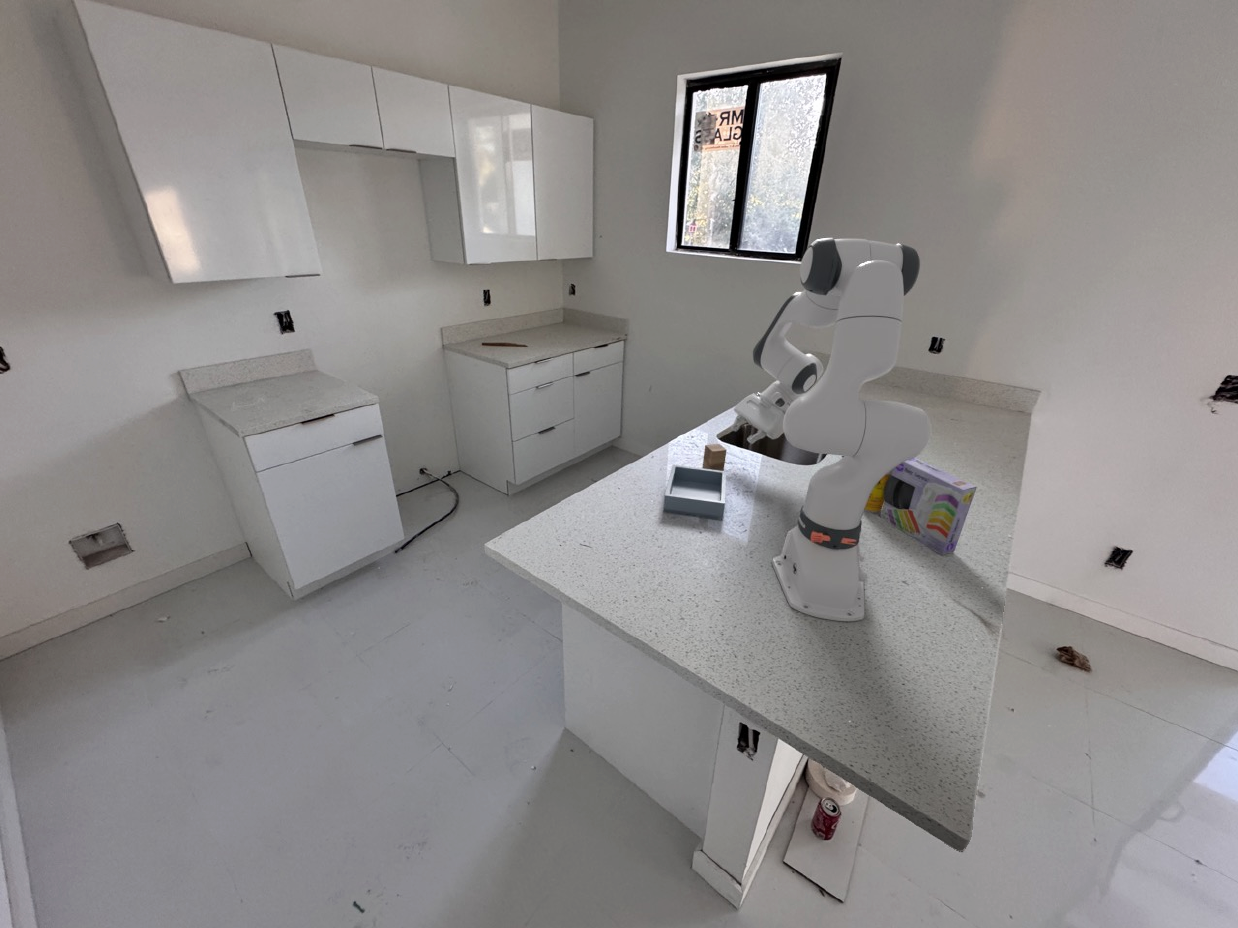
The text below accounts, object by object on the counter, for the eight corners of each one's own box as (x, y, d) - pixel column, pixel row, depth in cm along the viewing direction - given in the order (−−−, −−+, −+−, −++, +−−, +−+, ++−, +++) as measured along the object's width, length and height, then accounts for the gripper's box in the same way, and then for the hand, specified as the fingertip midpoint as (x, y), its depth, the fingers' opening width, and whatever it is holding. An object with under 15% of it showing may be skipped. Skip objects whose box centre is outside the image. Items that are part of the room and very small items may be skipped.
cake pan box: (874, 514, 130) (893, 453, 122) (888, 511, 132) (908, 451, 124) (939, 557, 114) (966, 490, 106) (955, 553, 116) (982, 487, 108)
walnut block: (723, 474, 148) (726, 449, 144) (709, 475, 146) (712, 451, 143) (715, 467, 152) (719, 443, 148) (702, 469, 150) (705, 445, 147)
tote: (722, 520, 125) (725, 503, 122) (663, 512, 127) (664, 495, 125) (723, 487, 141) (726, 471, 138) (671, 480, 143) (672, 464, 141)
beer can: (855, 509, 132) (870, 459, 125) (857, 499, 137) (871, 450, 130) (880, 516, 130) (897, 464, 123) (881, 505, 134) (897, 456, 128)
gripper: (750, 384, 152) (718, 416, 154) (790, 406, 135) (753, 442, 136) (760, 397, 155) (728, 428, 157) (801, 420, 138) (764, 455, 140)
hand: (740, 435), depth 146 cm, fingers open, 8 cm apart
